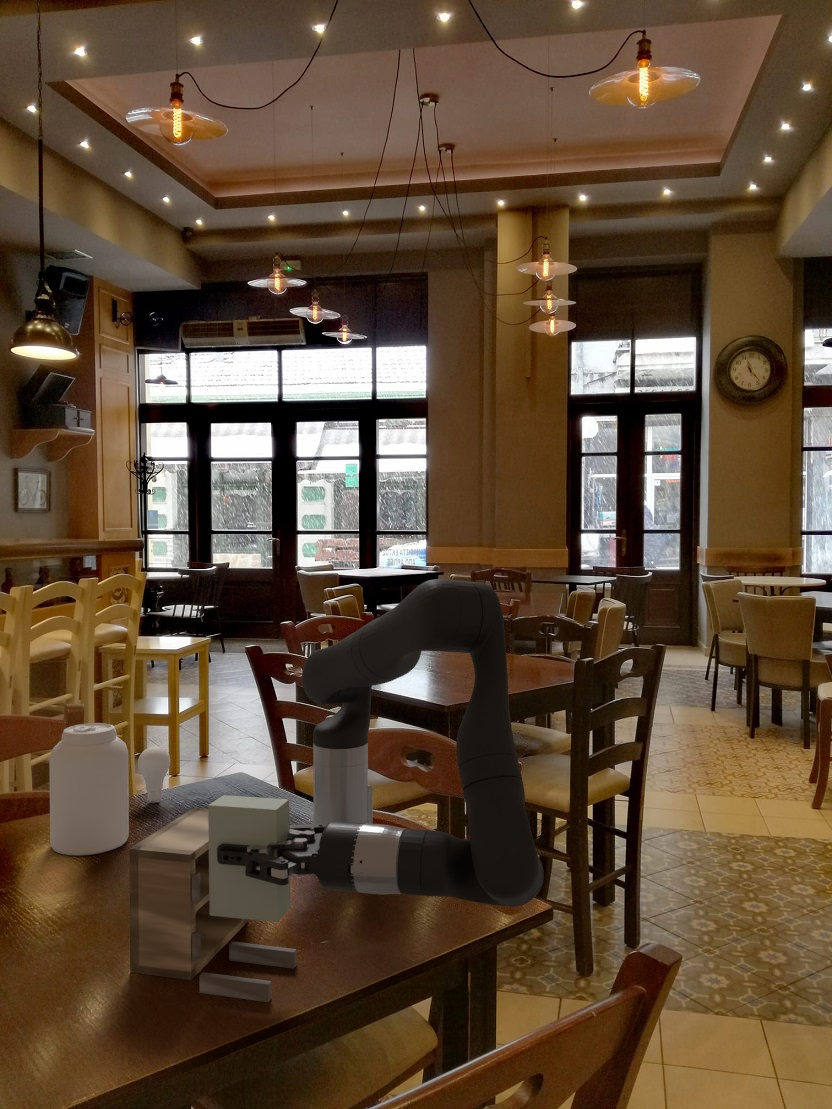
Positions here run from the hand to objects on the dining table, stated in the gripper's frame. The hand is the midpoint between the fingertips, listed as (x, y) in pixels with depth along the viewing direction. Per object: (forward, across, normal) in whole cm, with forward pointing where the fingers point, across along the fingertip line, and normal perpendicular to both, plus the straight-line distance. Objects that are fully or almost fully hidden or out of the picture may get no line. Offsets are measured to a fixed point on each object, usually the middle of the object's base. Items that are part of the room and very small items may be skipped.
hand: (227, 846), depth 104 cm
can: (+42, -35, +15) cm, 57 cm away
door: (-3, 0, +8) cm, 8 cm away
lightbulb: (+44, -58, +15) cm, 74 cm away
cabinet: (+3, -5, +16) cm, 17 cm away
